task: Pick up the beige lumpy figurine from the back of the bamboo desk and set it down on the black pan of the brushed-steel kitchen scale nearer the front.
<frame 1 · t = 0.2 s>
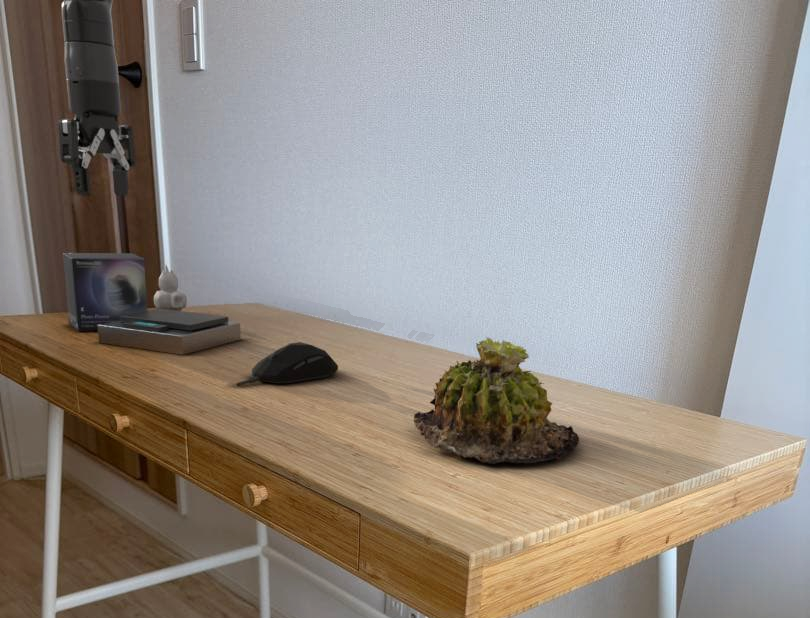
hand: (103, 195, 132), 18 cm above the table, tool pointing down, fingers open, 8 cm apart
beige lumpy figurine: (171, 315, 141), on the table
cactus: (494, 442, 81), on the table
scale pan: (175, 319, 118), point 3 cm above the table, slide at 0.0 cm
scale: (172, 341, 119), on the table
small box: (109, 328, 127), on the table
gaming mouse: (286, 379, 101), on the table
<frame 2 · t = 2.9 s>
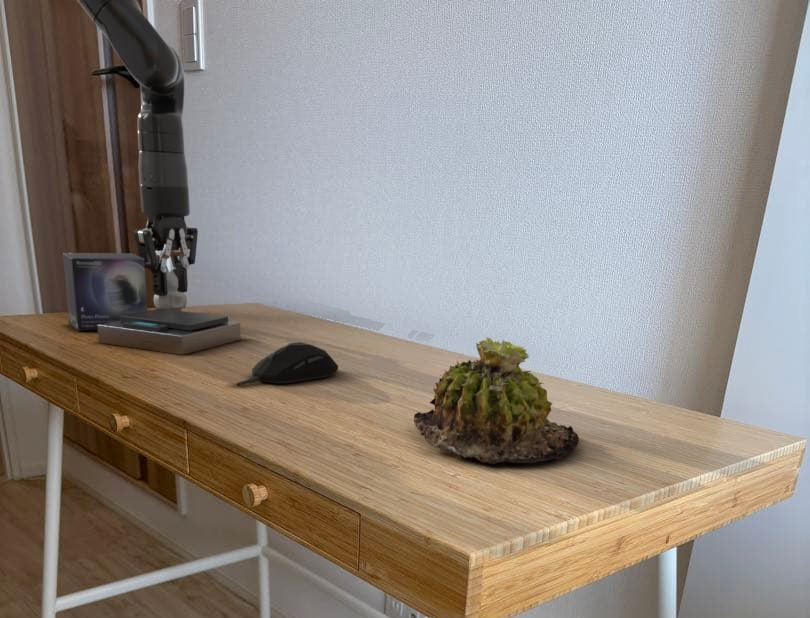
hand: (171, 293, 140), 3 cm above the table, tool pointing down, fingers closed on beige lumpy figurine, 4 cm apart
beige lumpy figurine: (171, 315, 141), on the table, touching gripper
everything else where it was.
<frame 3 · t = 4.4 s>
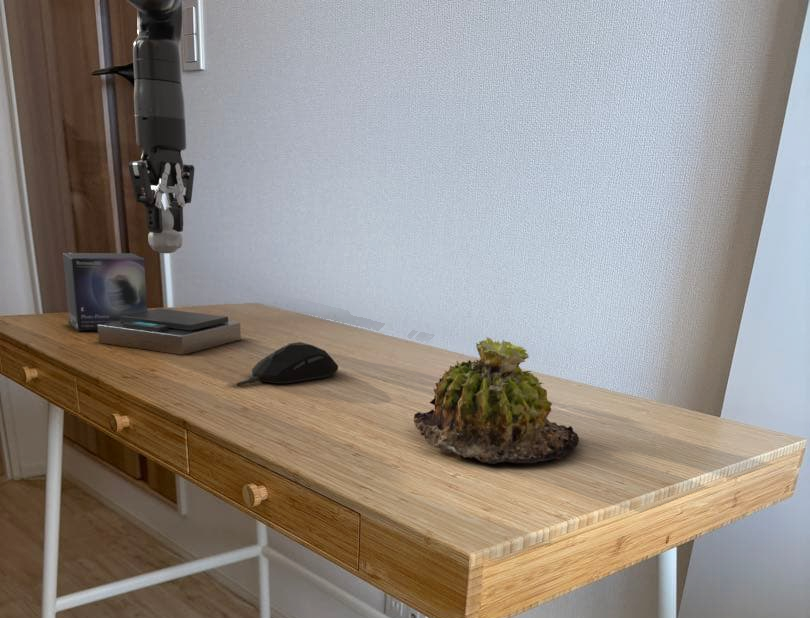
hand: (166, 231, 135), 13 cm above the table, tool pointing down, fingers closed on beige lumpy figurine, 4 cm apart
beige lumpy figurine: (166, 255, 137), point 10 cm above the table, touching gripper
everything else where it was.
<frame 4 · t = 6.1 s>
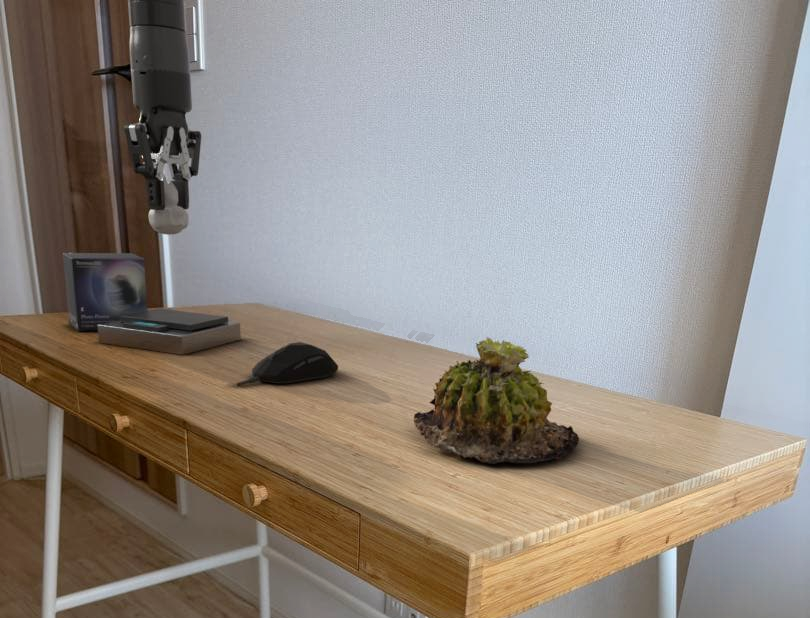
hand: (169, 208, 116), 17 cm above the table, tool pointing down, fingers closed on beige lumpy figurine, 4 cm apart
beige lumpy figurine: (170, 236, 117), point 14 cm above the table, touching gripper
everything else where it was.
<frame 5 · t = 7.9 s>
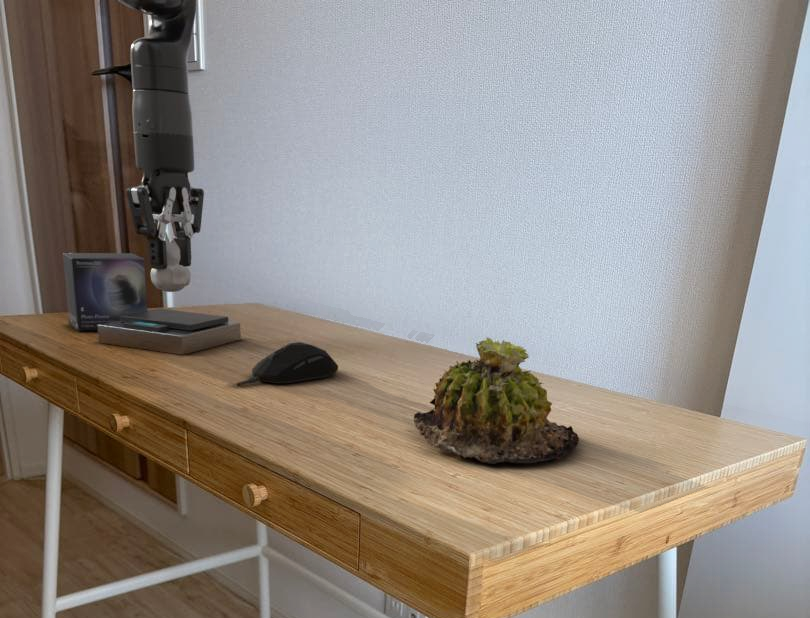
hand: (171, 266, 116), 10 cm above the table, tool pointing down, fingers closed on beige lumpy figurine, 4 cm apart
beige lumpy figurine: (172, 293, 117), point 6 cm above the table, touching gripper
everything else where it was.
when the fingers open (7 cm above the table, at t = 9.3 s): beige lumpy figurine stays where it is, resting on scale pan.
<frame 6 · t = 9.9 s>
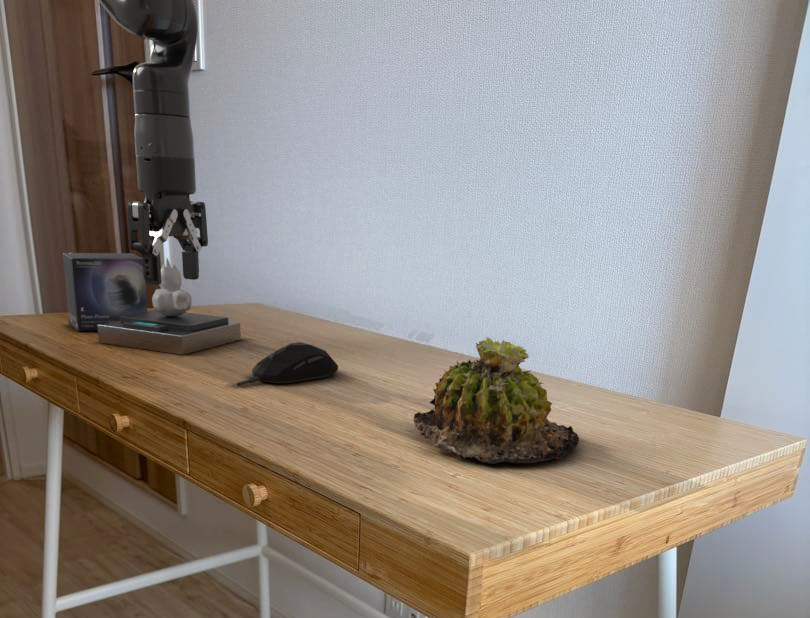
hand: (172, 281, 116), 8 cm above the table, tool pointing down, fingers open, 8 cm apart
beige lumpy figurine: (173, 318, 118), point 3 cm above the table, touching scale pan
scale pan: (175, 319, 118), point 3 cm above the table, slide at -0.1 cm, touching beige lumpy figurine, scale
everything else where it was.
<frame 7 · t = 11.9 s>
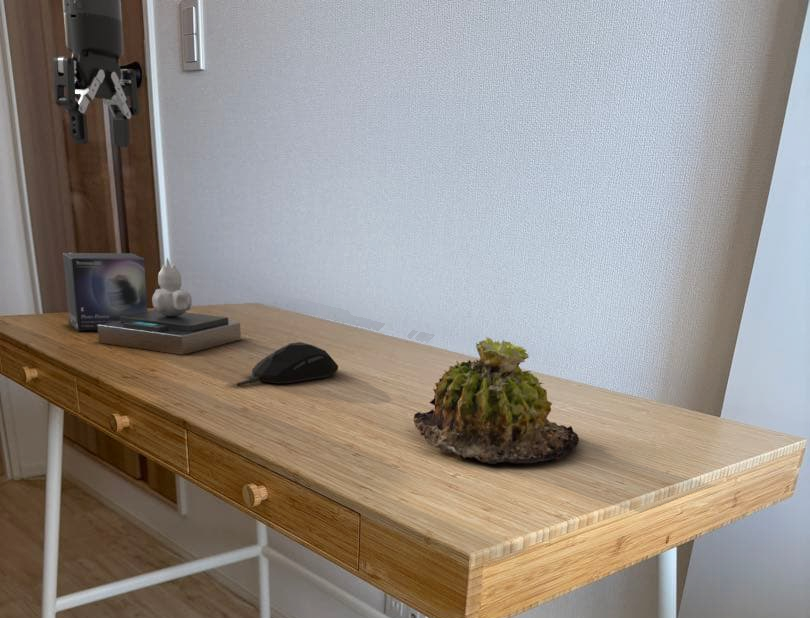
hand: (101, 145, 120), 25 cm above the table, tool pointing down, fingers open, 8 cm apart
nothing on the table moved.
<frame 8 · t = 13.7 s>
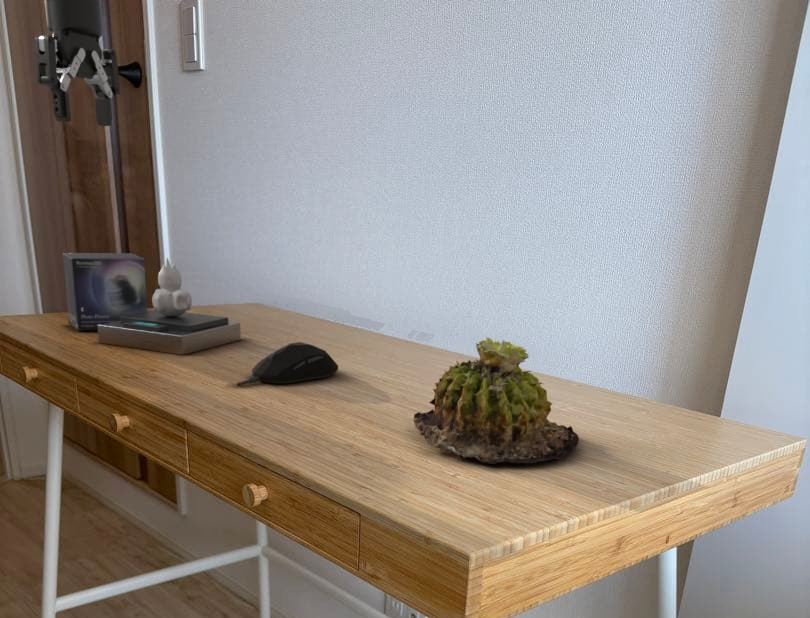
hand: (84, 123, 123), 28 cm above the table, tool pointing down, fingers open, 8 cm apart
nothing on the table moved.
at the end: beige lumpy figurine inside the target area on the scale (0.1 cm from its centre), point 3.1 cm above the scale's base; beige lumpy figurine tilted 0°; the gripper is holding nothing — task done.
